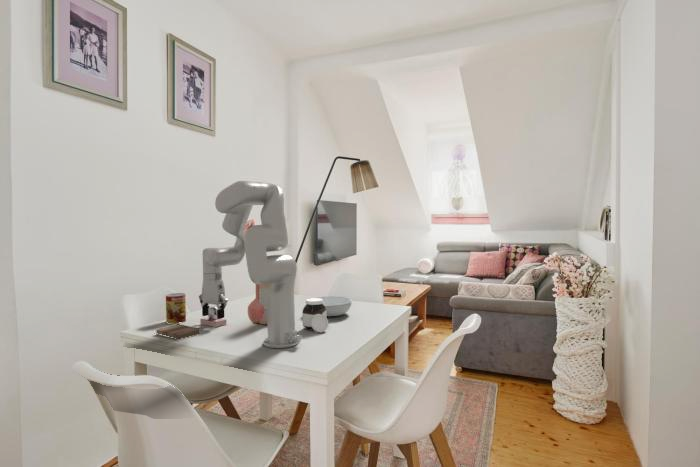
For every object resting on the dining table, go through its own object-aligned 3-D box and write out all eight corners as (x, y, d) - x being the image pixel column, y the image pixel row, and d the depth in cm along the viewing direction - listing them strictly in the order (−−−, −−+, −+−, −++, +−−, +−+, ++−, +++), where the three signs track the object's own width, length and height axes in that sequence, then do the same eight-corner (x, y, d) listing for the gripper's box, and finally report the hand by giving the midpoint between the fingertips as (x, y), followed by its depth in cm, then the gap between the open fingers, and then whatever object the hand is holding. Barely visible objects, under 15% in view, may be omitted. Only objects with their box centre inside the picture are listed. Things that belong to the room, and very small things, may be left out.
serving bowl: (297, 316, 178) (297, 301, 177) (326, 308, 195) (325, 294, 195) (333, 322, 166) (333, 306, 166) (360, 313, 183) (360, 298, 183)
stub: (226, 324, 164) (226, 307, 164) (215, 327, 160) (215, 310, 160) (211, 321, 170) (210, 305, 169) (200, 324, 165) (200, 307, 165)
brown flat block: (199, 333, 151) (199, 328, 151) (178, 340, 143) (178, 334, 143) (177, 329, 158) (177, 323, 158) (156, 334, 150) (156, 329, 150)
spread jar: (314, 324, 164) (314, 296, 163) (336, 327, 158) (336, 299, 157) (296, 331, 153) (296, 302, 153) (319, 335, 147) (319, 304, 147)
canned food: (176, 324, 166) (175, 296, 165) (162, 323, 168) (161, 295, 168) (189, 320, 173) (189, 293, 173) (176, 318, 176) (175, 292, 175)
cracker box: (271, 325, 162) (270, 275, 162) (258, 324, 164) (257, 275, 163) (286, 317, 176) (285, 271, 175) (273, 316, 177) (273, 271, 177)
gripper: (233, 277, 163) (234, 317, 163) (206, 274, 172) (207, 312, 172) (218, 279, 156) (219, 321, 157) (191, 276, 166) (192, 316, 166)
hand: (213, 316), depth 165 cm, fingers open, 9 cm apart
